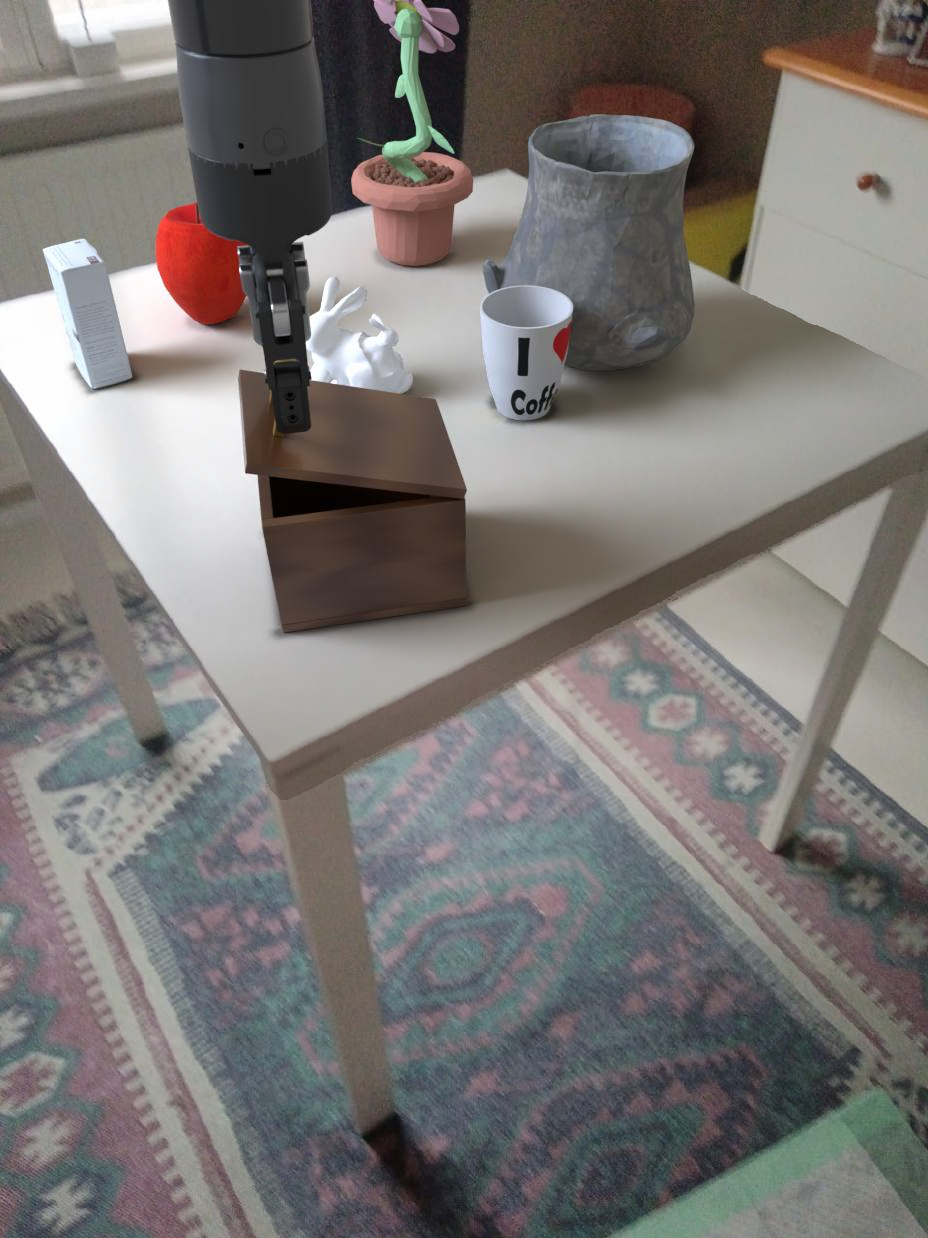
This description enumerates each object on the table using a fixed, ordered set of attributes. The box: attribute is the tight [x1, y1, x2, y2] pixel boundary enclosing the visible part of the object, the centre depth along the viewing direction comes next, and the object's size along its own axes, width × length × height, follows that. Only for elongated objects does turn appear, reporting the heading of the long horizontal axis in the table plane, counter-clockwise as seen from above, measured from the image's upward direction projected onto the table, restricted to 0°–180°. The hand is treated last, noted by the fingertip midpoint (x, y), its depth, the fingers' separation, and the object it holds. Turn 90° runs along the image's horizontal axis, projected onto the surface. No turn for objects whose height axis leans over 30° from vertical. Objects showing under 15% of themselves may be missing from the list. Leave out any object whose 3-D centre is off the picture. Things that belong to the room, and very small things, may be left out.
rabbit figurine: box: [306, 276, 414, 394], centre depth 92 cm, size 12×8×10 cm, turn 79°
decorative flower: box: [350, 0, 474, 267], centre depth 106 cm, size 15×14×30 cm
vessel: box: [482, 113, 696, 371], centre depth 93 cm, size 22×22×20 cm
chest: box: [256, 475, 468, 633], centre depth 72 cm, size 14×12×10 cm
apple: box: [155, 201, 248, 325], centre depth 101 cm, size 10×10×12 cm
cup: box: [479, 285, 573, 421], centre depth 89 cm, size 8×8×10 cm
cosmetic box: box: [42, 238, 133, 390], centre depth 93 cm, size 6×4×12 cm
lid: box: [237, 359, 468, 499], centre depth 66 cm, size 14×12×5 cm
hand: (290, 405), depth 65 cm, fingers closed on lid, 5 cm apart
